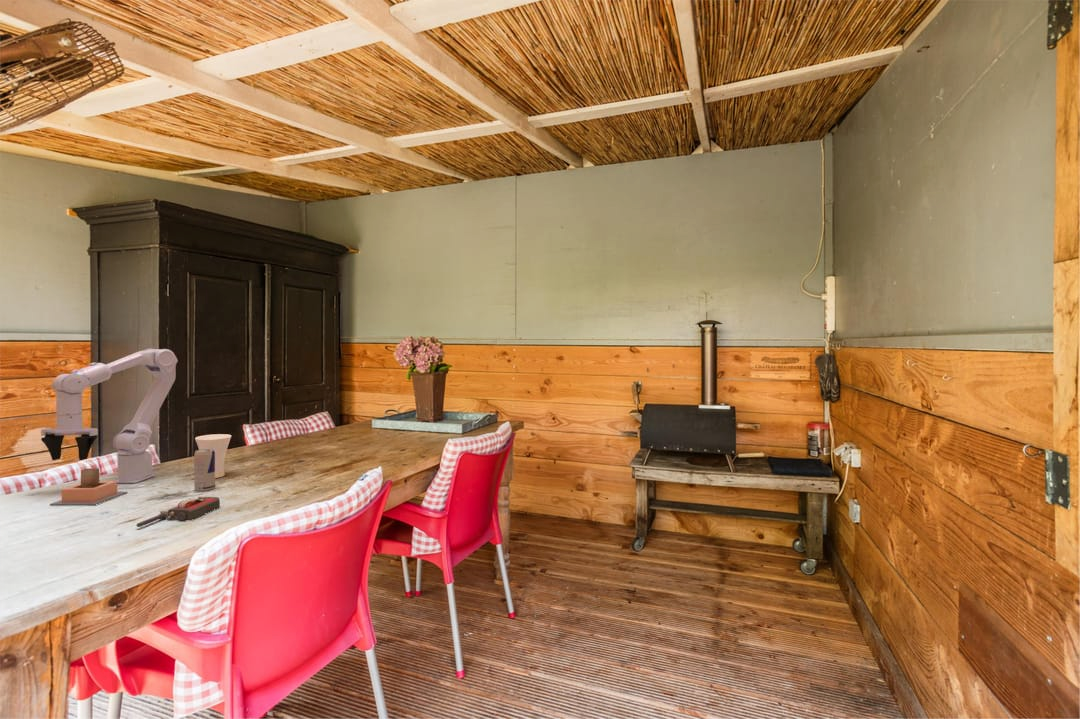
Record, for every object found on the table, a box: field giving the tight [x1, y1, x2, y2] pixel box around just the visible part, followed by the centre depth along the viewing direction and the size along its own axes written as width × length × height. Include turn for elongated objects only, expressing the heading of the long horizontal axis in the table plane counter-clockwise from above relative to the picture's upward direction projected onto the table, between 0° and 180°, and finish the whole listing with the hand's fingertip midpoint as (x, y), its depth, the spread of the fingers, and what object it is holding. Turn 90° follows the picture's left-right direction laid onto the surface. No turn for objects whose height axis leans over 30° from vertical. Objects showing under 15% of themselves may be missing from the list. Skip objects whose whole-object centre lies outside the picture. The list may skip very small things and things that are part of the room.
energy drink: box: [193, 449, 216, 492], centre depth 161 cm, size 5×5×12 cm
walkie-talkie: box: [136, 496, 221, 528], centre depth 135 cm, size 9×4×20 cm
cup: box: [194, 433, 232, 479], centre depth 176 cm, size 10×10×14 cm
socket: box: [49, 480, 128, 506], centre depth 149 cm, size 12×12×4 cm
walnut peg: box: [80, 467, 100, 488], centre depth 149 cm, size 4×4×8 cm
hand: (69, 459), depth 155 cm, fingers open, 7 cm apart
